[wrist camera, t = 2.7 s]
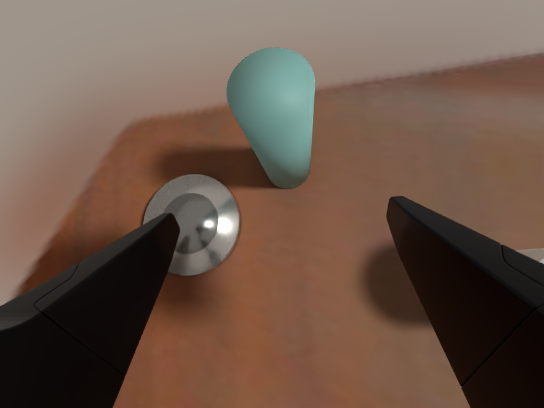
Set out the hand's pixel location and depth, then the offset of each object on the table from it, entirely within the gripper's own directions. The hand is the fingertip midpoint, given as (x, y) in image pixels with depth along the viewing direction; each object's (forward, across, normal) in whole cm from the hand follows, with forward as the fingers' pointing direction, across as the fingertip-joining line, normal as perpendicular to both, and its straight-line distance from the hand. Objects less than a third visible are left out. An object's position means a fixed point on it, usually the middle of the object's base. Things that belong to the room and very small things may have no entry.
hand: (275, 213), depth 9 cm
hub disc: (+10, +10, +8) cm, 16 cm away
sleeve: (+13, 0, +4) cm, 14 cm away
